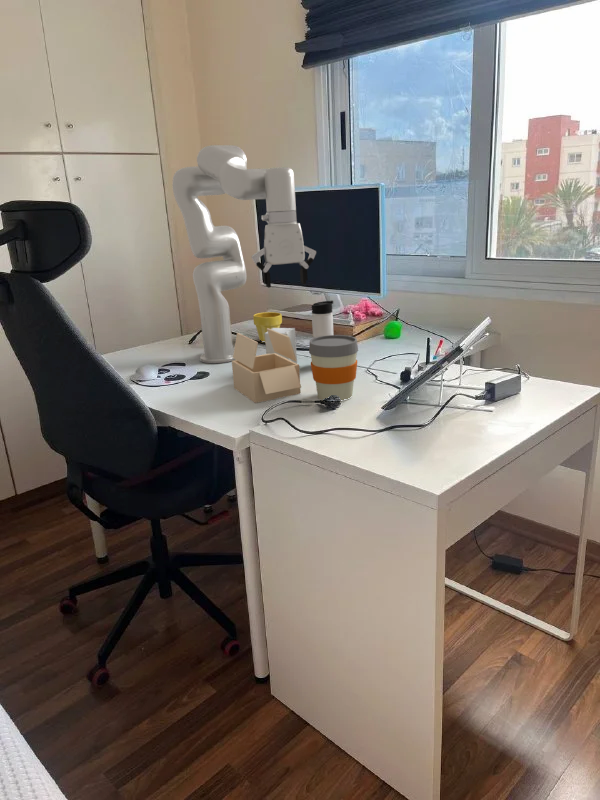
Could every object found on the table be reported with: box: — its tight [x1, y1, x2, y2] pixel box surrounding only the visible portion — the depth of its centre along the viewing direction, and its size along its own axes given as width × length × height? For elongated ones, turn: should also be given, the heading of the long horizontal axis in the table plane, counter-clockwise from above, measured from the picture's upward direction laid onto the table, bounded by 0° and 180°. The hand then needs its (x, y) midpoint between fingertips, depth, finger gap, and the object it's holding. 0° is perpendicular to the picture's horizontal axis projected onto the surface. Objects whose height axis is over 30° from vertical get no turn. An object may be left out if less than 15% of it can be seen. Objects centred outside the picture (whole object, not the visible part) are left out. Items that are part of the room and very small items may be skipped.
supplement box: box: [264, 327, 298, 364], centre depth 181 cm, size 7×7×13 cm
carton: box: [231, 353, 302, 404], centre depth 164 cm, size 23×13×8 cm, turn 27°
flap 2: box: [267, 328, 298, 362], centre depth 164 cm, size 14×7×1 cm
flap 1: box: [233, 332, 259, 369], centre depth 159 cm, size 14×7×1 cm
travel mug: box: [311, 300, 334, 339], centre depth 183 cm, size 6×7×20 cm
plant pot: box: [252, 311, 283, 341], centre depth 220 cm, size 10×10×10 cm
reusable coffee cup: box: [308, 334, 359, 401], centre depth 156 cm, size 13×13×15 cm
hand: (286, 285), depth 162 cm, fingers open, 9 cm apart
